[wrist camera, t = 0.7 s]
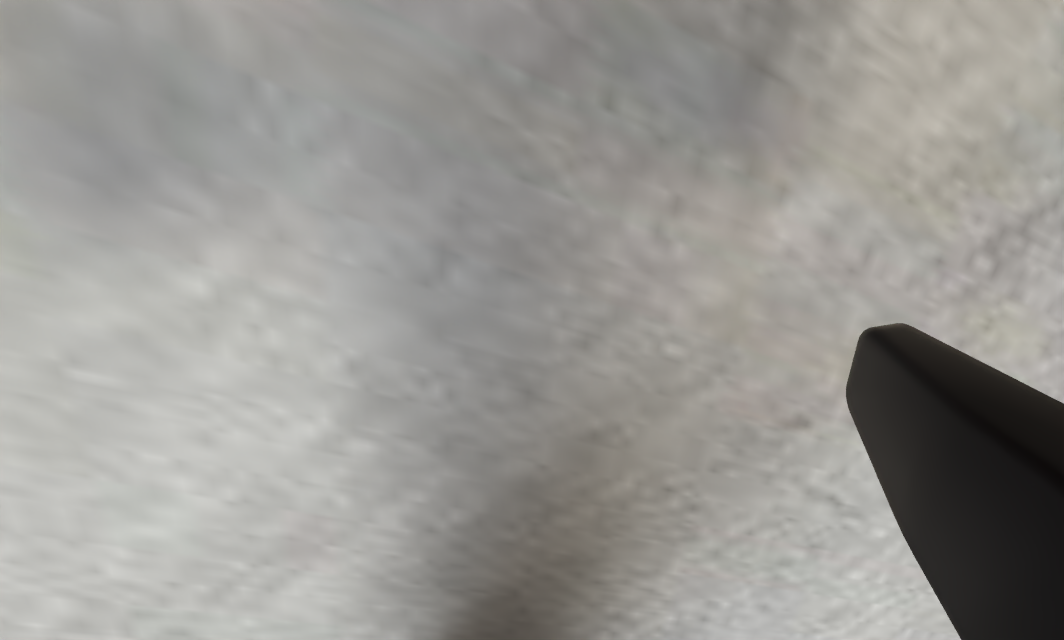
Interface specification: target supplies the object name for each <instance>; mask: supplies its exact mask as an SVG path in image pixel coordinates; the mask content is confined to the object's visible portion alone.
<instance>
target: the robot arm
mask: <svg viewBox="0 0 1064 640" xmlns="http://www.w3.org/2000/svg"><path fill="white" fill-rule="evenodd" d="M846 399H847V404H848V408H849V411H850V413H851V416H852V418H853V420H854V423H855V425H856V427H857V430H858V432H859V434H860V437H861V439H862V441H863V444H864V446H865V449H866V451H867V453H868V456H869V458H870V460H871V463H872V465H873V467H874V470H875V472H876V474H877V477H878V479H879V481H880V484H881V486H882V488H883V491H884V493H885V495H886V498H887V500H888V502H889V505H890V507H891V509H892V512H893V514H894V516H895V519H896V521H897V523H898V525H899V527H900V529H901V531H902V534H903V536H904V538H905V540H906V541H907V543H908V545H909V547H910V549H911V551H912V553H913V555H914V556H915V558H916V560H917V562H918V564H919V565H920V567H921V569H922V571H923V572H924V574H925V576H926V578H927V580H928V581H929V583H930V585H931V587H932V588H933V590H934V592H935V594H936V596H937V597H938V599H939V601H940V603H941V604H942V606H943V608H944V610H945V611H946V613H947V615H948V617H949V619H950V620H951V622H952V624H953V626H954V627H955V629H956V631H957V633H958V635H959V636H960V638H961V640H1064V404H1063V403H1061V402H1059V401H1057V400H1055V399H1053V398H1051V397H1049V396H1047V395H1045V394H1043V393H1042V392H1040V391H1038V390H1036V389H1034V388H1032V387H1030V386H1028V385H1026V384H1024V383H1022V382H1020V381H1018V380H1016V379H1014V378H1012V377H1010V376H1008V375H1006V374H1004V373H1002V372H1000V371H998V370H996V369H994V368H992V367H990V366H988V365H986V364H985V363H983V362H981V361H979V360H977V359H975V358H973V357H971V356H969V355H967V354H965V353H963V352H961V351H959V350H957V349H955V348H953V347H951V346H949V345H947V344H945V343H943V342H941V341H939V340H937V339H935V338H933V337H931V336H929V335H928V334H926V333H924V332H922V331H920V330H918V329H916V328H914V327H912V326H909V325H907V324H903V323H896V324H890V325H883V326H877V327H871V328H868V329H866V330H865V331H864V332H863V333H862V334H861V335H860V337H859V340H858V343H857V347H856V351H855V355H854V358H853V362H852V366H851V370H850V374H849V378H848V381H847V386H846Z"/></svg>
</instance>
